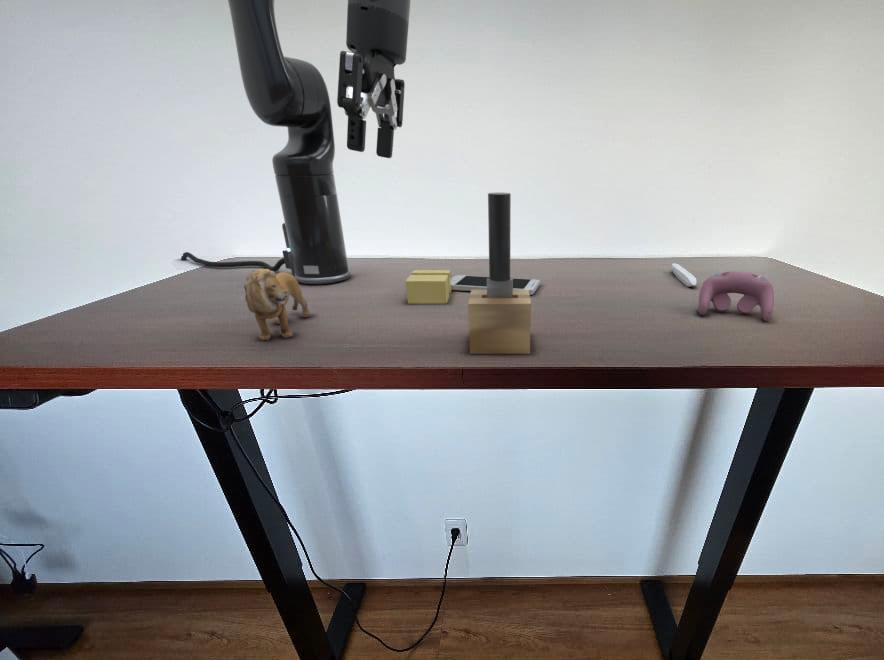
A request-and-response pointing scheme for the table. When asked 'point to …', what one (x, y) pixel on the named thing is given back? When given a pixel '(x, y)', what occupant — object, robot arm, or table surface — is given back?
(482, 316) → the knife block
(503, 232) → the knife
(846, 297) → the table surface
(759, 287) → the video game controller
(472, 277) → the smartphone
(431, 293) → the butter
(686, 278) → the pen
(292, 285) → the lion figurine
